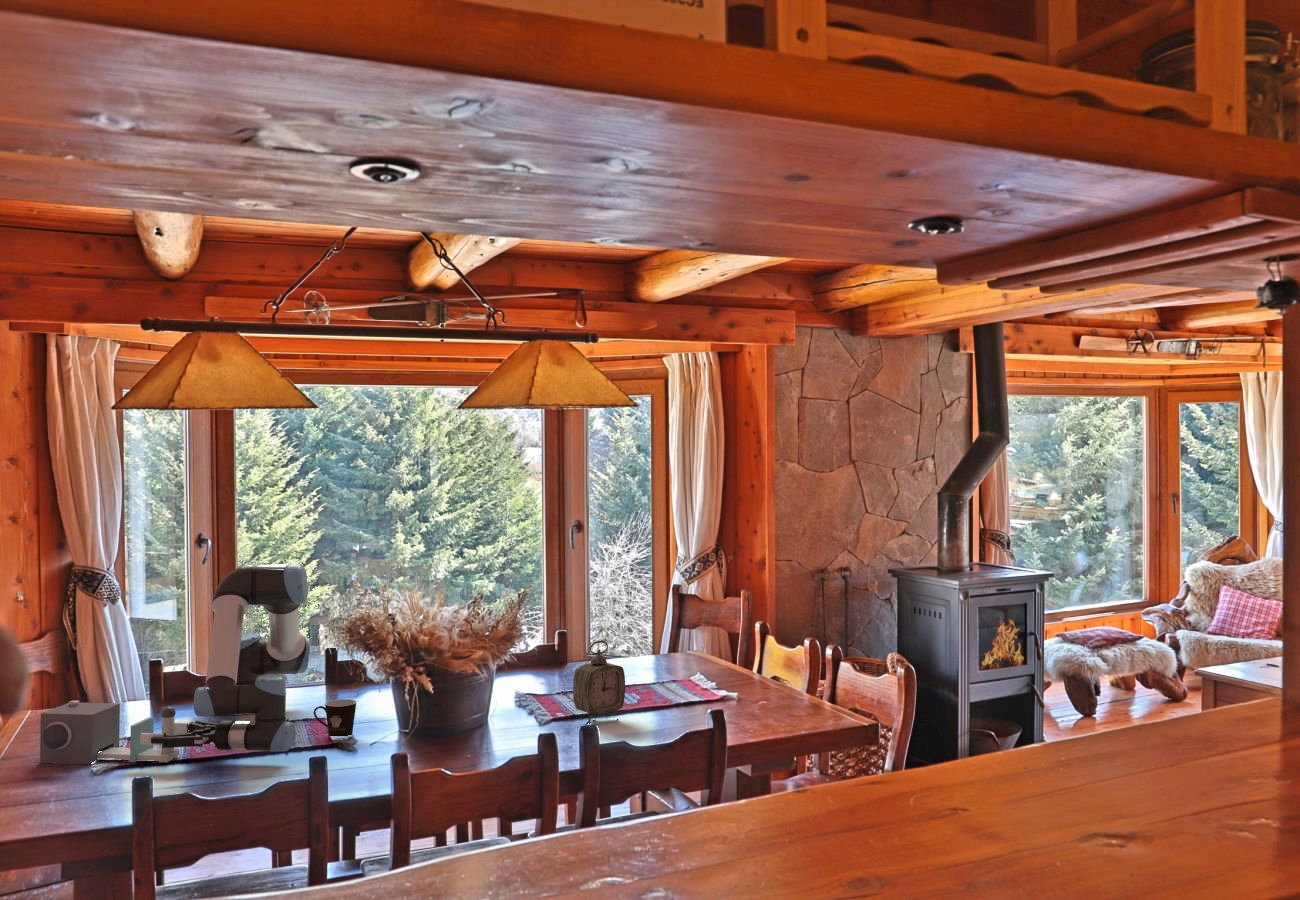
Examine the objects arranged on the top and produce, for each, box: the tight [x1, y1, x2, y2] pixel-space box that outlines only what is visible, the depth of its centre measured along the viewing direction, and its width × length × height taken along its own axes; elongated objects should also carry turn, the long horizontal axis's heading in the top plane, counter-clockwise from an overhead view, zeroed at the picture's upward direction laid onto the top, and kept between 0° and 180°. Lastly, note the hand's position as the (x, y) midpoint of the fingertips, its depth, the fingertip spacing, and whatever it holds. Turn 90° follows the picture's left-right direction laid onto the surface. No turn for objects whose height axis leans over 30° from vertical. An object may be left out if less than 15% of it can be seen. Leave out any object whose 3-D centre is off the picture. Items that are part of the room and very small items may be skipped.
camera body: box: [39, 700, 121, 766], centre depth 264 cm, size 14×14×14 cm
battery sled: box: [98, 706, 180, 763], centre depth 265 cm, size 19×9×14 cm, turn 87°
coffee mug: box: [313, 698, 357, 737], centre depth 288 cm, size 12×9×10 cm
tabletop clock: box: [572, 640, 626, 725], centre depth 307 cm, size 14×9×25 cm, turn 131°
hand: (152, 733), depth 264 cm, fingers open, 10 cm apart
